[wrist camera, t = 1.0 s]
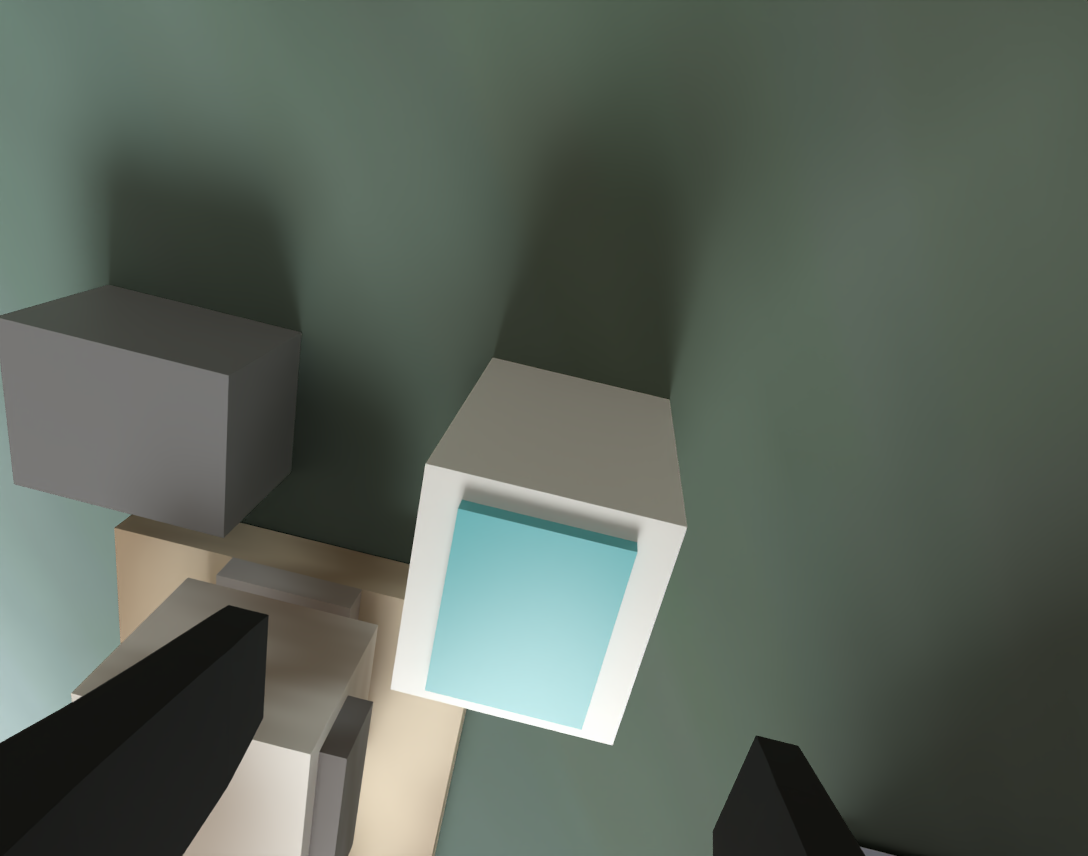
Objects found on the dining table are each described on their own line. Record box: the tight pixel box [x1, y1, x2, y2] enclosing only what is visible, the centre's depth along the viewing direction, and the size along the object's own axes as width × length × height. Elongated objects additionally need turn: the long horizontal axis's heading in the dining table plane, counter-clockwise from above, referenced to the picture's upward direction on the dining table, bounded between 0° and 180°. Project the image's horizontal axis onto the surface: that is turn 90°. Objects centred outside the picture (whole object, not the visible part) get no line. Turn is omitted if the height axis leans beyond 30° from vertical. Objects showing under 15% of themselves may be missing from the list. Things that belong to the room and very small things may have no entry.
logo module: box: [391, 358, 687, 745], centre depth 15 cm, size 4×5×6 cm
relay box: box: [0, 285, 302, 538], centre depth 17 cm, size 5×4×4 cm
